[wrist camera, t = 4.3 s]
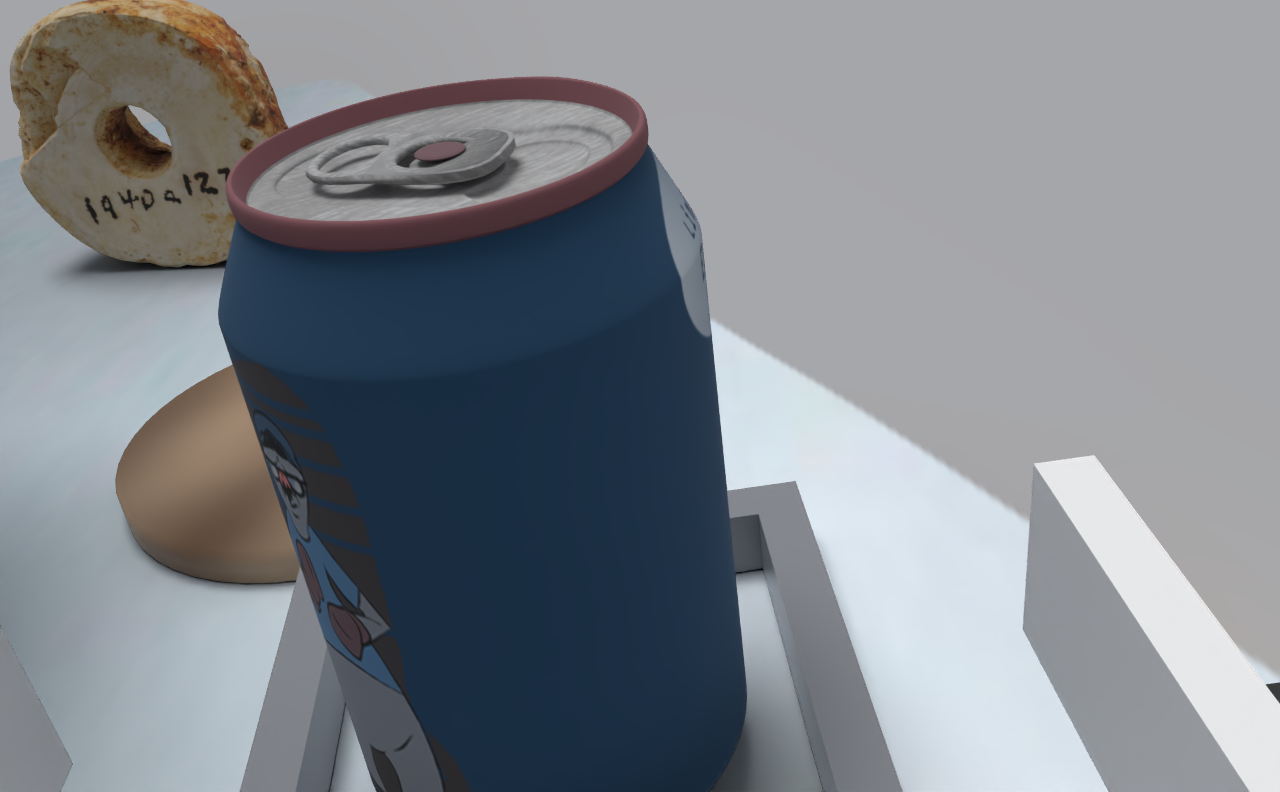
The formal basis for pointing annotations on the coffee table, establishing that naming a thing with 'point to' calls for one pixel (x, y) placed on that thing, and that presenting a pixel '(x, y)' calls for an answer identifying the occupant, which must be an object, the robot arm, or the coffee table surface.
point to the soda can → (495, 434)
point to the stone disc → (139, 125)
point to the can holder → (761, 538)
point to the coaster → (206, 489)
